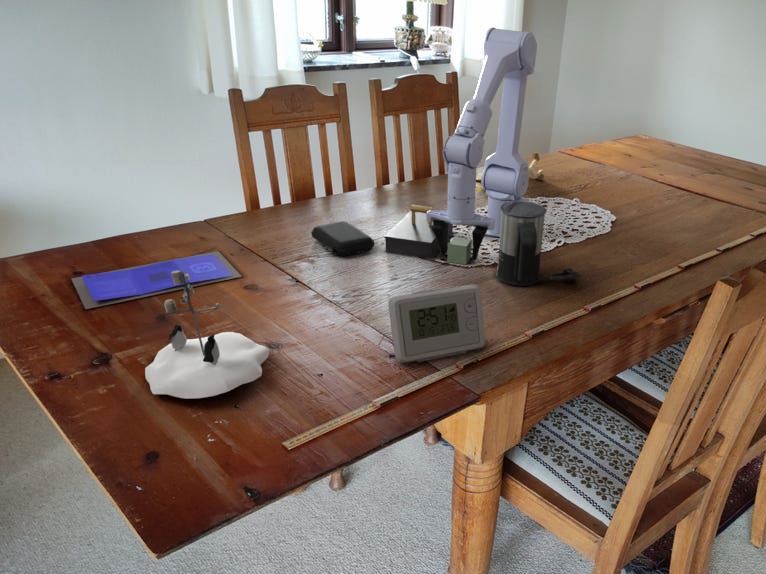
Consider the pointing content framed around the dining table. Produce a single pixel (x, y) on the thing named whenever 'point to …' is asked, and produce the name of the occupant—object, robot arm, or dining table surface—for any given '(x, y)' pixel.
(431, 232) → the cover
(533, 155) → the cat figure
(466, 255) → the block
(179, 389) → the figurine
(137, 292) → the booklet
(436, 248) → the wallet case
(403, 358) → the digital clock
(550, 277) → the milk frother
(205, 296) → the dining table surface
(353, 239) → the carrying case
